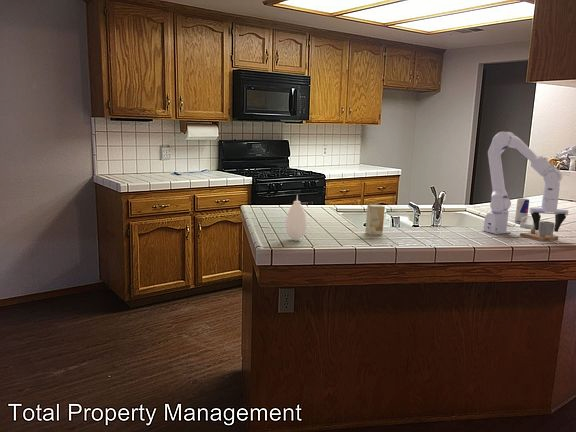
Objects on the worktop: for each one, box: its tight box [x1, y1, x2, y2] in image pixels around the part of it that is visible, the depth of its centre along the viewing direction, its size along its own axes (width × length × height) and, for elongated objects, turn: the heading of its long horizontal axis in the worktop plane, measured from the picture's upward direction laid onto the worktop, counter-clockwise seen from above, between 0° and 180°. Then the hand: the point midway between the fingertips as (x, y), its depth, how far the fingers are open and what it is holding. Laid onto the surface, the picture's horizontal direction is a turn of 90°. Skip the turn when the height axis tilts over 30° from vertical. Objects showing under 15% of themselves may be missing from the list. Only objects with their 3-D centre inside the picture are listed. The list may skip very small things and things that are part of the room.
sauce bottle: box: [285, 194, 308, 242], centre depth 183 cm, size 8×8×18 cm
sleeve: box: [537, 220, 555, 238], centre depth 200 cm, size 6×6×6 cm
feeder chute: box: [519, 215, 541, 230], centre depth 225 cm, size 9×6×5 cm
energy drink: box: [514, 197, 530, 224], centre depth 235 cm, size 5×5×12 cm
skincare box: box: [365, 204, 386, 236], centre depth 199 cm, size 6×4×12 cm
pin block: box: [519, 226, 559, 242], centre depth 203 cm, size 11×10×4 cm
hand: (546, 230), depth 200 cm, fingers open, 7 cm apart
